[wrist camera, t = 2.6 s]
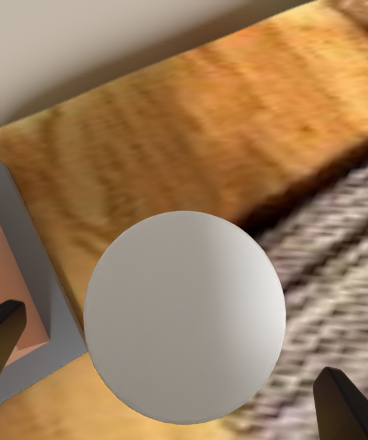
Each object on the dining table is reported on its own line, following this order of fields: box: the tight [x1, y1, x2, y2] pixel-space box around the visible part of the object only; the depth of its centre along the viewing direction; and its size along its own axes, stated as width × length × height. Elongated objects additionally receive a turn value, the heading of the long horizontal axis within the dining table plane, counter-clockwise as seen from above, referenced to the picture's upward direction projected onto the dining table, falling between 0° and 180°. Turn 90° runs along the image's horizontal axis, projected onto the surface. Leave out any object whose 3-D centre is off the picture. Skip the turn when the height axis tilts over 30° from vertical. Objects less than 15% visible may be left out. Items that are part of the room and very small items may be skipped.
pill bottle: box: [83, 211, 286, 425], centre depth 12 cm, size 6×6×11 cm
